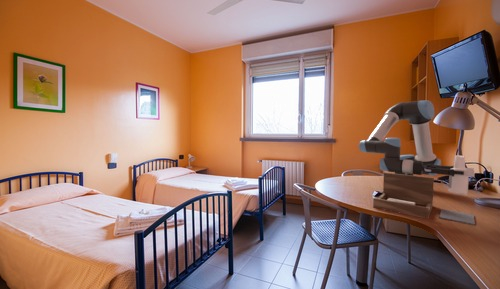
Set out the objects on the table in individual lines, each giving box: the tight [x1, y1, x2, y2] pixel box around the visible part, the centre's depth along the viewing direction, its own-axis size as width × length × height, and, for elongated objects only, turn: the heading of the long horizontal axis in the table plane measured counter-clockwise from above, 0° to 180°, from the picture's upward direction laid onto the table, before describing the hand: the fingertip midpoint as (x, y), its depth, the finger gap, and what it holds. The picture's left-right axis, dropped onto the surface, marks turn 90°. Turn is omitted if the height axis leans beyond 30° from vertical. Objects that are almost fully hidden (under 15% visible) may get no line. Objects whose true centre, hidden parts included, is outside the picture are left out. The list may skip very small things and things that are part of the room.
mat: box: [439, 208, 476, 226], centre depth 108 cm, size 14×12×1 cm
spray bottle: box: [448, 154, 470, 195], centre depth 106 cm, size 7×7×18 cm
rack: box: [372, 172, 435, 220], centre depth 122 cm, size 23×24×16 cm
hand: (473, 172), depth 103 cm, fingers closed on spray bottle, 7 cm apart
